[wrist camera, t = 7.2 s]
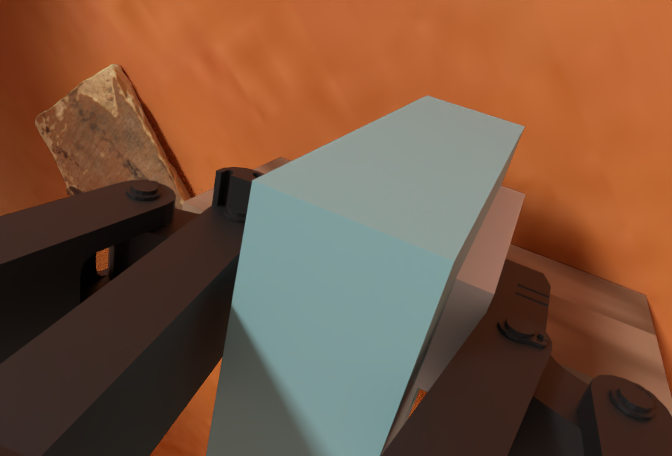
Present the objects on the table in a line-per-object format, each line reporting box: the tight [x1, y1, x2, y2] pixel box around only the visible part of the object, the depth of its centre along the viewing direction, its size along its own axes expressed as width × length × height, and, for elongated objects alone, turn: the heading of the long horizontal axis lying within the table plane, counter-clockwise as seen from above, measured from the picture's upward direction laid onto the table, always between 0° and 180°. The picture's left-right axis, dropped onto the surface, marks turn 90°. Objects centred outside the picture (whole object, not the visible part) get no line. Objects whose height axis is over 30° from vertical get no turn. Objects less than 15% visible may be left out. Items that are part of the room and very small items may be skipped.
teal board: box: [206, 96, 525, 456], centre depth 14 cm, size 14×3×10 cm, turn 166°
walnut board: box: [182, 157, 672, 416], centre depth 20 cm, size 16×3×7 cm, turn 76°
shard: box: [35, 64, 191, 210], centre depth 28 cm, size 11×8×2 cm
